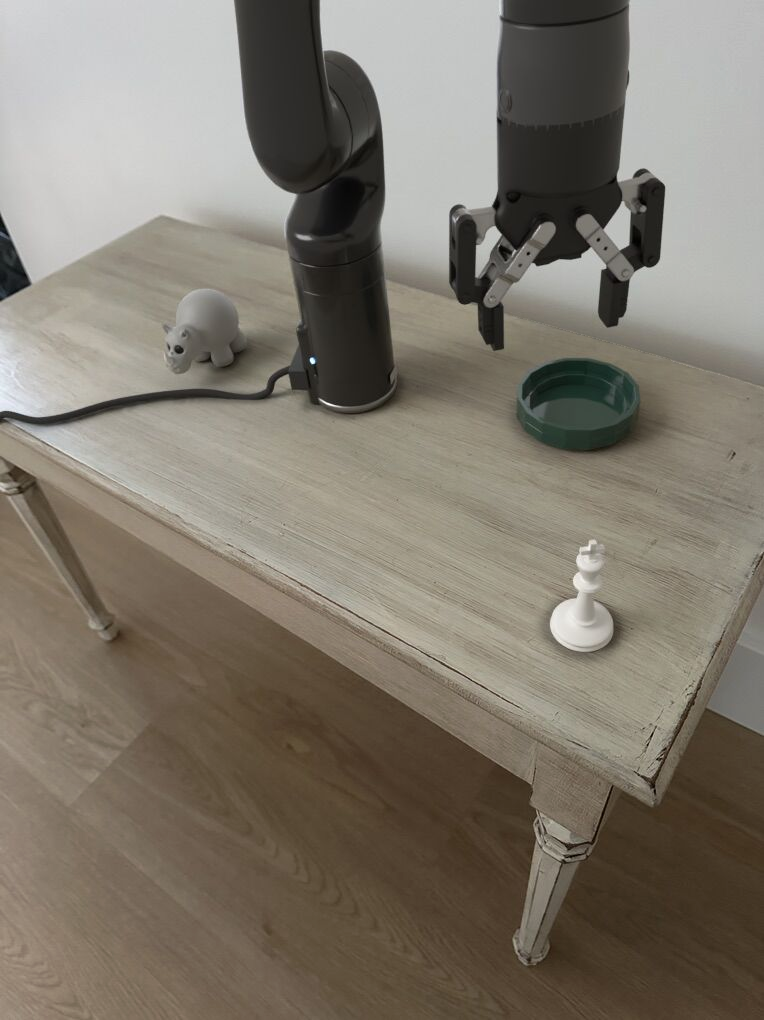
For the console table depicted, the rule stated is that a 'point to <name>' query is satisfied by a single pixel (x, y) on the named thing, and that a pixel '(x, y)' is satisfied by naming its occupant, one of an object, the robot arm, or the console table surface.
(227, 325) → the chubby cartoon animal
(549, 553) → the console table surface
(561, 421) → the dish
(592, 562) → the chess piece
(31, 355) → the console table surface
